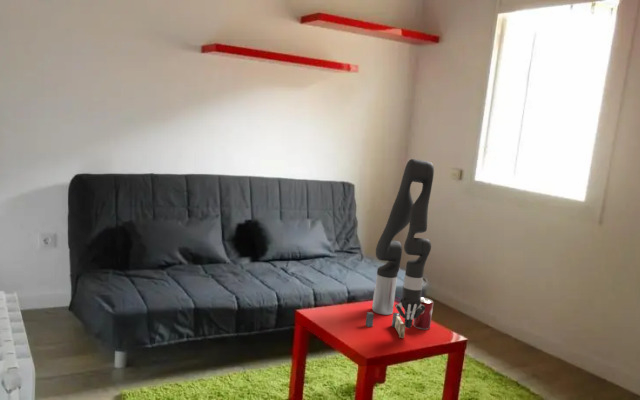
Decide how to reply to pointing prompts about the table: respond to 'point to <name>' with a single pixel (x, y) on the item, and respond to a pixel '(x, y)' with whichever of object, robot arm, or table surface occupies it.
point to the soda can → (424, 315)
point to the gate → (400, 327)
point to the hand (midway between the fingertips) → (407, 327)
